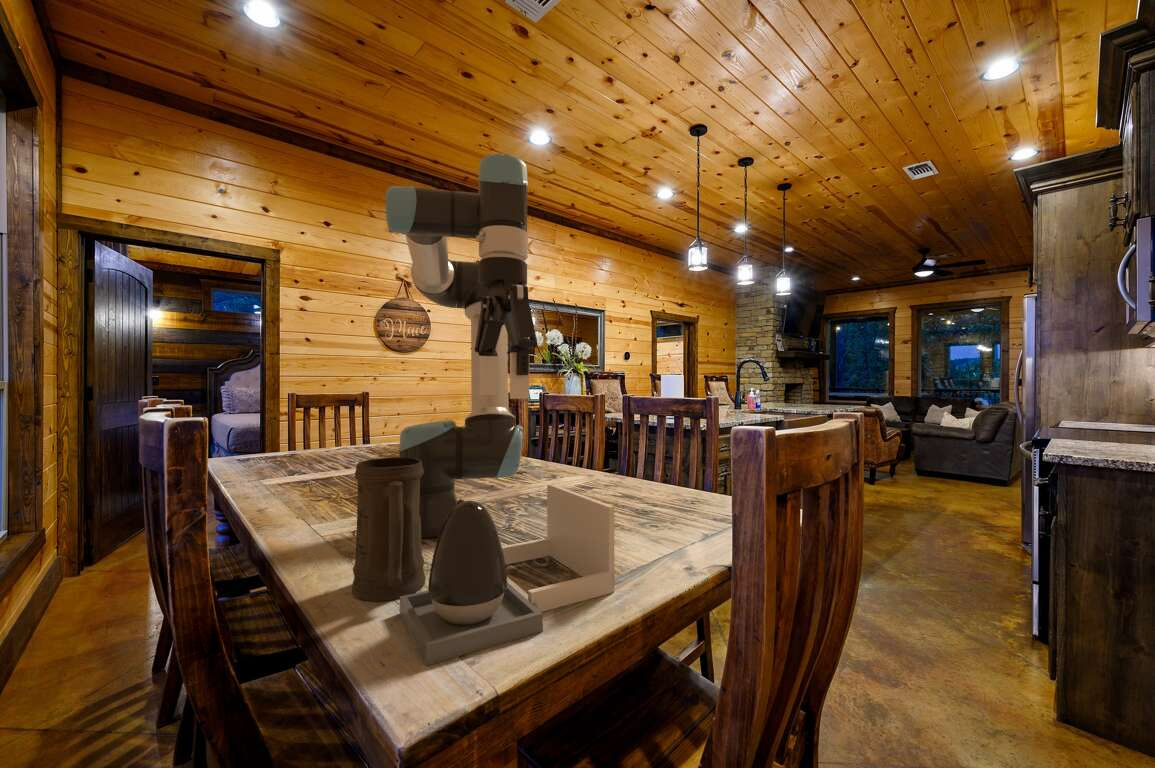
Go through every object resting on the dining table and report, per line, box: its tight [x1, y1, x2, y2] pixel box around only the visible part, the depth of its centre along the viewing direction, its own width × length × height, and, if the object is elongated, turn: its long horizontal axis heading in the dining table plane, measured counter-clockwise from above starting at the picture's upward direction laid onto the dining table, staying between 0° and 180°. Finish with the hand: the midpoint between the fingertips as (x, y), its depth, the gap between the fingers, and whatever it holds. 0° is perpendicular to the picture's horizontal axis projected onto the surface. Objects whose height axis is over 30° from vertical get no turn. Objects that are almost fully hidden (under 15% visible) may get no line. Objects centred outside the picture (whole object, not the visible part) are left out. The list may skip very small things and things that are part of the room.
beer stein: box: [351, 456, 427, 602], centre depth 73 cm, size 15×11×20 cm
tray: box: [399, 582, 544, 667], centre depth 64 cm, size 15×15×2 cm
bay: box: [502, 483, 615, 613], centre depth 78 cm, size 20×14×13 cm
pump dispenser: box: [427, 498, 508, 625], centre depth 64 cm, size 10×10×15 cm
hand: (502, 396), depth 75 cm, fingers open, 13 cm apart
